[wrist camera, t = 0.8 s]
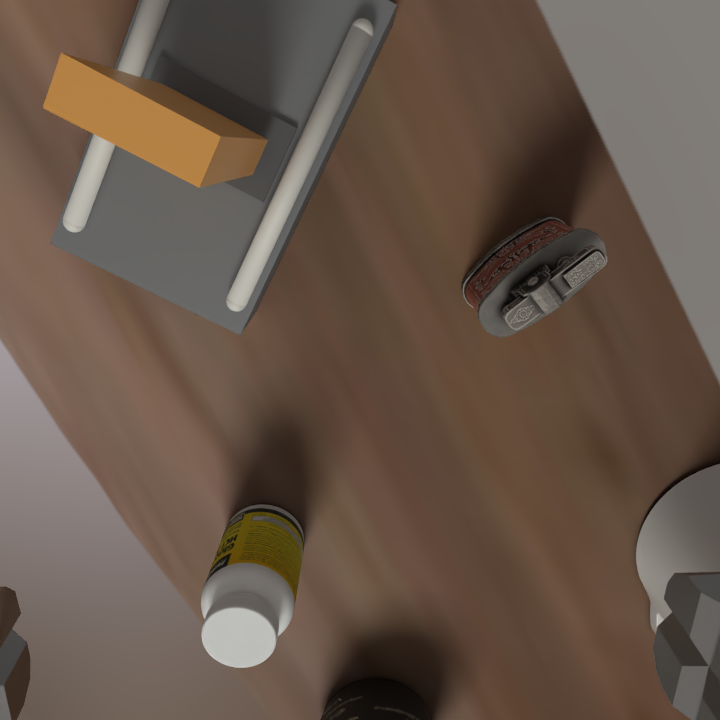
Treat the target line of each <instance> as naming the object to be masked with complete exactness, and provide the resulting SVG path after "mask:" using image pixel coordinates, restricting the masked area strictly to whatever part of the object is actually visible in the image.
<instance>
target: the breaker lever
mask: <svg viewBox="0 0 720 720" xmlns="http://www.w3.org/2000/svg"><path fill="white" fill-rule="evenodd" d="M43 108H44V109H46V110H48V111H50V112H52V113H54V114H56V115H58V116H60V117H62V118H63V119H65V120H67V121H69V122H71V123H73V124H75V125H77V126H79V127H81V128H83V129H85V130H87V131H89V132H91V133H93V134H95V135H97V136H99V137H101V138H103V139H105V140H107V141H108V142H110V143H112V144H114V145H116V146H118V147H120V148H122V149H124V150H126V151H128V152H130V153H132V154H134V155H136V156H138V157H140V158H142V159H144V160H146V161H148V162H150V163H152V164H154V165H155V166H157V167H159V168H161V169H163V170H165V171H167V172H169V173H171V174H173V175H175V176H177V177H179V178H181V179H183V180H185V181H187V182H189V183H191V184H193V185H195V186H197V187H199V188H201V187H205V186H209V185H213V184H217V183H221V182H225V181H229V180H233V179H237V178H241V177H245V176H249V175H253V173H254V171H255V169H256V166H257V164H258V162H259V160H260V157H261V155H262V153H263V151H264V148H265V146H266V144H267V142H268V139H266V138H264V137H262V136H260V135H258V134H256V133H254V132H252V131H251V130H249V129H247V128H245V127H243V126H241V125H239V124H237V123H235V122H234V121H232V120H230V119H228V118H226V117H224V116H222V115H220V114H218V113H217V112H215V111H213V110H211V109H209V108H207V107H205V106H203V105H201V104H200V103H198V102H196V101H194V100H192V99H190V98H188V97H186V96H185V95H183V94H181V93H179V92H177V91H175V90H173V89H171V88H169V87H168V86H166V85H164V84H161V83H158V82H154V81H151V80H148V79H145V78H141V77H138V76H135V75H132V74H129V73H125V72H122V71H119V70H116V69H112V68H109V67H106V66H103V65H99V64H96V63H93V62H90V61H87V60H83V59H80V58H77V57H74V56H70V55H67V54H64V53H61V55H60V58H59V61H58V64H57V67H56V70H55V73H54V76H53V79H52V82H51V85H50V88H49V91H48V94H47V97H46V100H45V103H44V106H43Z"/></svg>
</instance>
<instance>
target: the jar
mask: <svg viewBox="0 0 720 720" xmlns="http://www.w3.org/2000/svg"><path fill="white" fill-rule="evenodd" d="M321 720H432V719H431V717H430V715H429V713H428V710H427V708H426V706H425V704H424V703H423V701H422V700H421V699H420V698H419V697H418V695H416V694H415V693H414V692H413V691H411V690H410V689H408V688H407V687H405V686H403V685H401V684H399V683H397V682H394V681H390V680H384V679H367V680H362V681H358V682H355V683H353V684H350V685H348V686H347V687H345V688H343V689H342V690H340V691H339V692H338V693H336V694H335V695H334V696H333V697H332V698H331V700H330V701H329V703H328V704H327V706H326V708H325V710H324V713H323V715H322V718H321Z"/></svg>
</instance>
